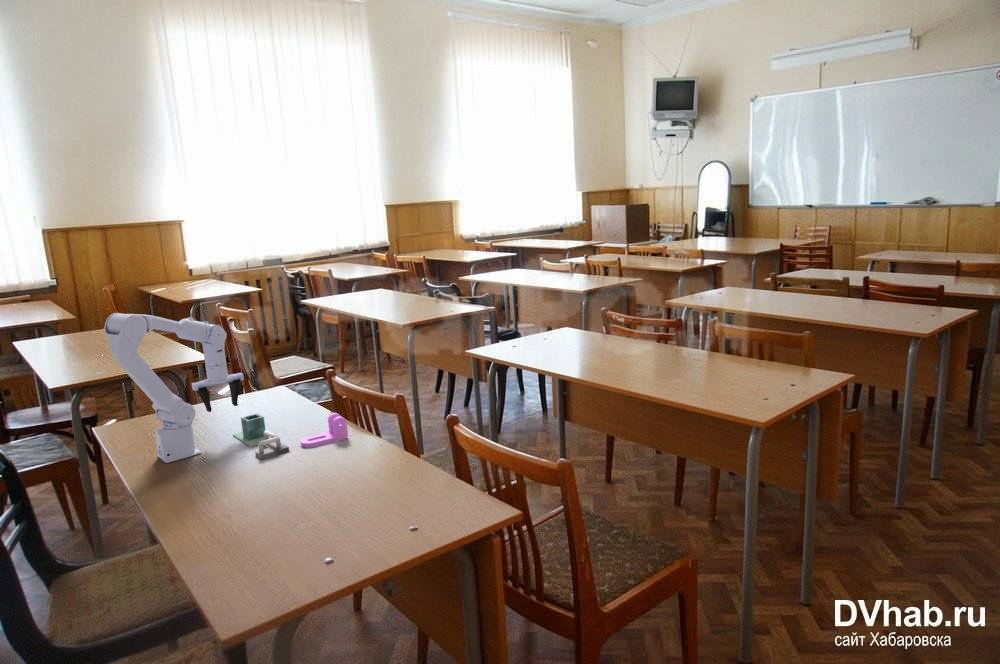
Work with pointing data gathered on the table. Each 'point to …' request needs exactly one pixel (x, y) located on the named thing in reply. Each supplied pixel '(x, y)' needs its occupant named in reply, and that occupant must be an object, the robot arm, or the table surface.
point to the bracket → (335, 432)
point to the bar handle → (270, 446)
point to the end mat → (249, 442)
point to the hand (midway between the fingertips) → (222, 408)
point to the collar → (253, 426)
